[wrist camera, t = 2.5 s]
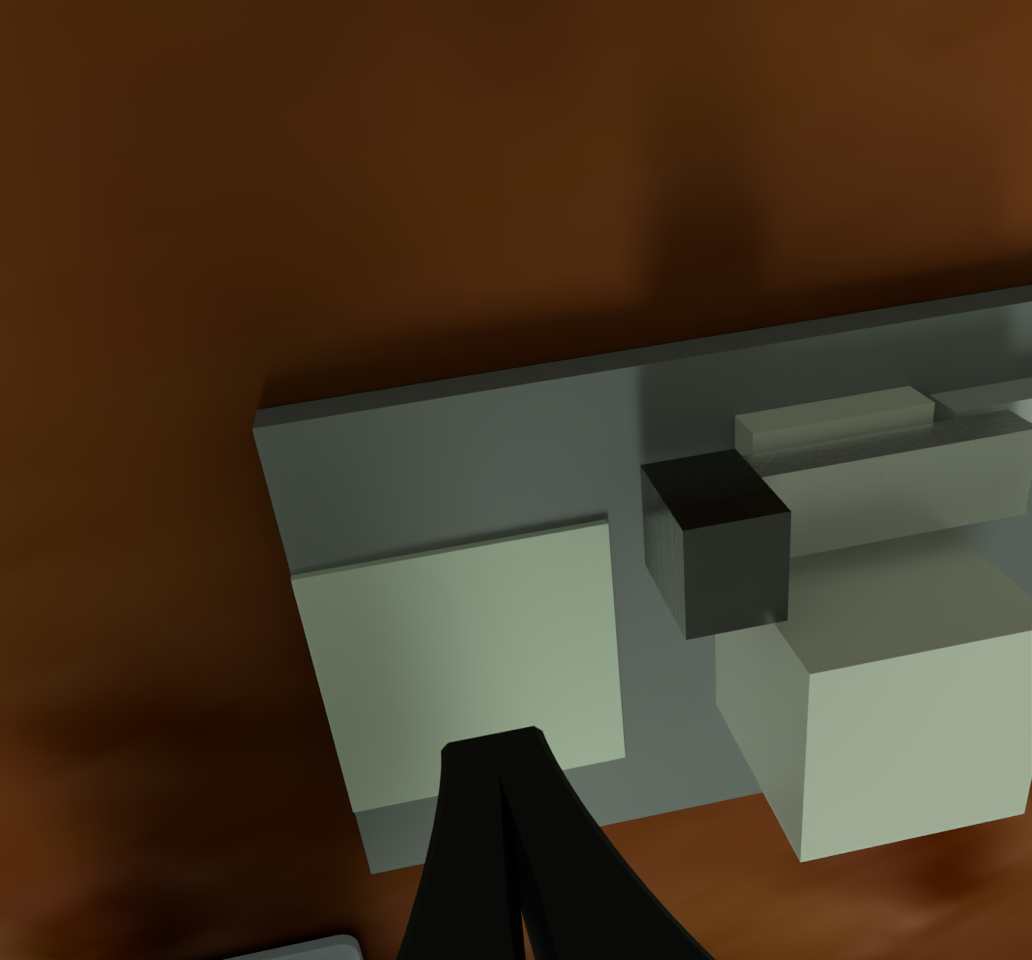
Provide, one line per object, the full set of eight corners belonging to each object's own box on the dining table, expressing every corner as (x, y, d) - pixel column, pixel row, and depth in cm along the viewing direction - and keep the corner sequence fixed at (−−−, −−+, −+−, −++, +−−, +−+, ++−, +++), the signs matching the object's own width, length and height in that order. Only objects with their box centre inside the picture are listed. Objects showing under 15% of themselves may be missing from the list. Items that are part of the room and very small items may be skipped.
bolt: (994, 500, 20) (1079, 564, 18) (645, 564, 20) (686, 640, 17) (1009, 400, 19) (1102, 454, 17) (640, 465, 18) (682, 531, 16)
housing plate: (1079, 697, 27) (1131, 744, 25) (370, 844, 25) (371, 906, 23) (1179, 260, 21) (1255, 283, 19) (256, 409, 19) (246, 449, 17)
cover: (899, 666, 24) (1024, 813, 20) (715, 703, 23) (800, 862, 19) (930, 382, 20) (1093, 483, 16) (713, 419, 20) (816, 534, 15)
